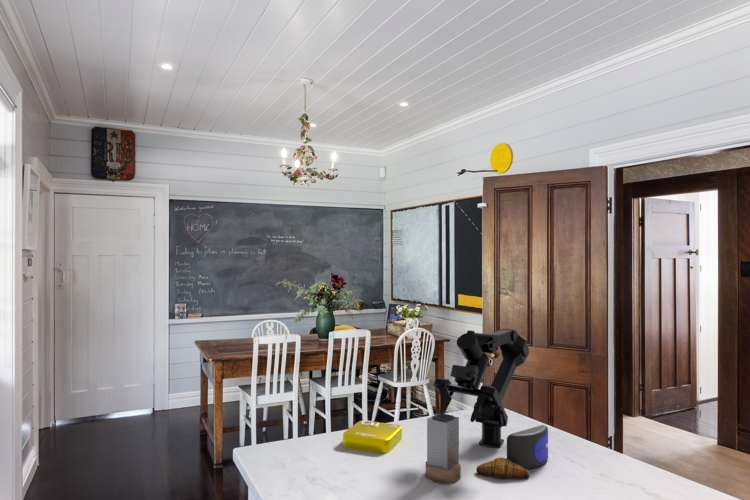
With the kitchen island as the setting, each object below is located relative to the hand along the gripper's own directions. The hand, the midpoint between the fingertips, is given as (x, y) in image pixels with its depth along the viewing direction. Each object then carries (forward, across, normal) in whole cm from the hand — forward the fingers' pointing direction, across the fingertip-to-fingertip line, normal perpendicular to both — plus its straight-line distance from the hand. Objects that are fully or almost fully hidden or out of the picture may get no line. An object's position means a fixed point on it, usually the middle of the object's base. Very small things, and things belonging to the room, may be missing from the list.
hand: (456, 418), depth 138 cm
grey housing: (+12, 0, +2) cm, 12 cm away
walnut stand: (+14, 0, +4) cm, 15 cm away
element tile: (+9, -30, +11) cm, 33 cm away
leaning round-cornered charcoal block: (-1, +14, +20) cm, 25 cm away
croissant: (+8, +12, +12) cm, 19 cm away
